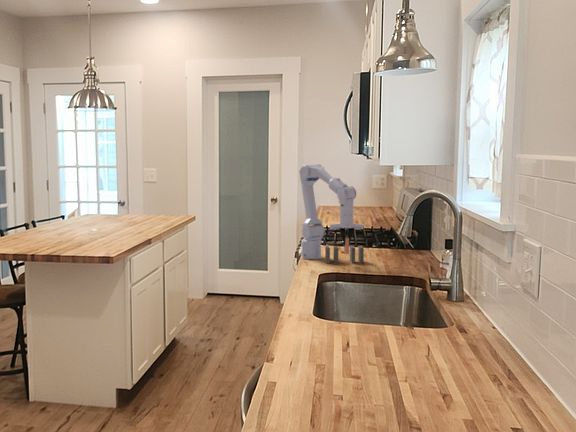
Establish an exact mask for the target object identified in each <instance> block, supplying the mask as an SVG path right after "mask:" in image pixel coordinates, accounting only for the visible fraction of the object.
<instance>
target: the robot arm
mask: <svg viewBox="0 0 576 432" xmlns="http://www.w3.org/2000/svg"><path fill="white" fill-rule="evenodd" d="M299 178H300V183H301V184H300V185H301V192H302V198H303V199H302V201H303V205H304V213H305V219H306V220H305V221H304V222H303V223H302V224H301V226H302V229H301V234H302V237H303V238H304V239H301V251H300V255H301V259H302V260H323V256H322V240H323V237H324V236H325V233H326V232H325V231H326V230H325V227H324V225H323V221H322V220H320V219H319V218H318V217H319V216H318V211H317V205H316V198H315V191H314V185H315V183H317V182H318V181H319V179H320V180H322V181H323V182H324V183H326V184H327V185H328V188H329V189H330V190H331V191H332V192H333V193H334V194H336V196H337V198H338V203H339V223H337V224H336V223H334V224H329V230H338V231H339V233H340V235H341V239H342V244H343V247H344V246H345V238H346V236H347V237H348V238H349V246H351V245H350V244H351V240H352V237H353V235H354V233H355V230H357V229H358V230H364V224H363V223H361V224H360V223H354V200H355V198H356V197H357V190H356V189H355V187H354V186H348V184H347V183H344V182H343V181H342V180H341V178H340V177H333V176H332V175H331V174H330V173H328V172H327V171H326V170H325V167H324V166H322V165H321V164H303V165H302V166H301V167H300V170H299Z"/></svg>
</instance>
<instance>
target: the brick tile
mask: <svg viewBox="0 0 576 432" xmlns="http://www.w3.org/2000/svg"><path fill="white" fill-rule="evenodd" d="M343 252H344V254H345V255H350V245H349V238H348V237H347V235H346V238H345V246H344V245H343Z"/></svg>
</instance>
